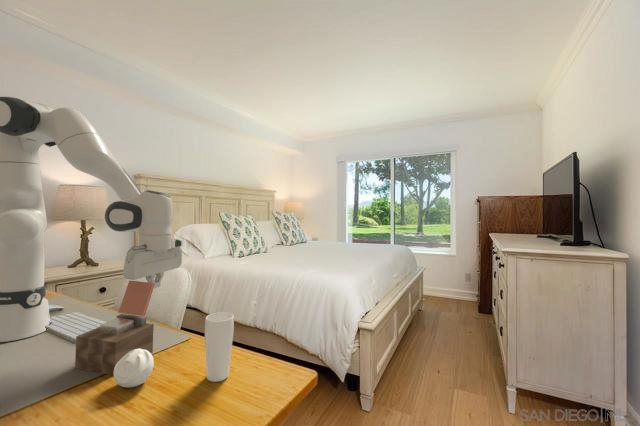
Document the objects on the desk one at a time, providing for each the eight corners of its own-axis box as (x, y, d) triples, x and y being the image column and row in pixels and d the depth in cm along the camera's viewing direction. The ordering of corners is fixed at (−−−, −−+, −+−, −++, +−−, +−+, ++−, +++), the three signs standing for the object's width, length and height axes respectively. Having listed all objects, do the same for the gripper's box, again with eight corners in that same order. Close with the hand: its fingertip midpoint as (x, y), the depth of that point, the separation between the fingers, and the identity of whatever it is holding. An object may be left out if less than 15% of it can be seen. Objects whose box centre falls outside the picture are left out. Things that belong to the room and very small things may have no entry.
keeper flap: (118, 312, 83) (121, 312, 84) (142, 315, 81) (144, 315, 82) (129, 280, 86) (131, 281, 87) (152, 282, 84) (155, 283, 85)
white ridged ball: (105, 391, 65) (106, 357, 65) (131, 373, 72) (132, 342, 72) (137, 396, 64) (138, 361, 63) (161, 377, 71) (162, 345, 71)
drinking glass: (204, 387, 67) (206, 323, 67) (201, 372, 73) (203, 313, 73) (234, 381, 71) (236, 319, 70) (229, 367, 77) (231, 310, 76)
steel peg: (99, 359, 76) (100, 324, 76) (116, 350, 81) (117, 317, 81) (115, 362, 75) (116, 327, 75) (132, 352, 80) (133, 320, 80)
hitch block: (75, 368, 73) (76, 328, 73) (117, 346, 85) (118, 312, 85) (114, 375, 71) (116, 334, 71) (152, 352, 83) (153, 317, 83)
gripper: (137, 247, 79) (135, 298, 80) (186, 240, 100) (184, 281, 100) (117, 246, 81) (116, 296, 81) (170, 239, 101) (168, 279, 101)
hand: (154, 287), depth 90 cm, fingers closed
